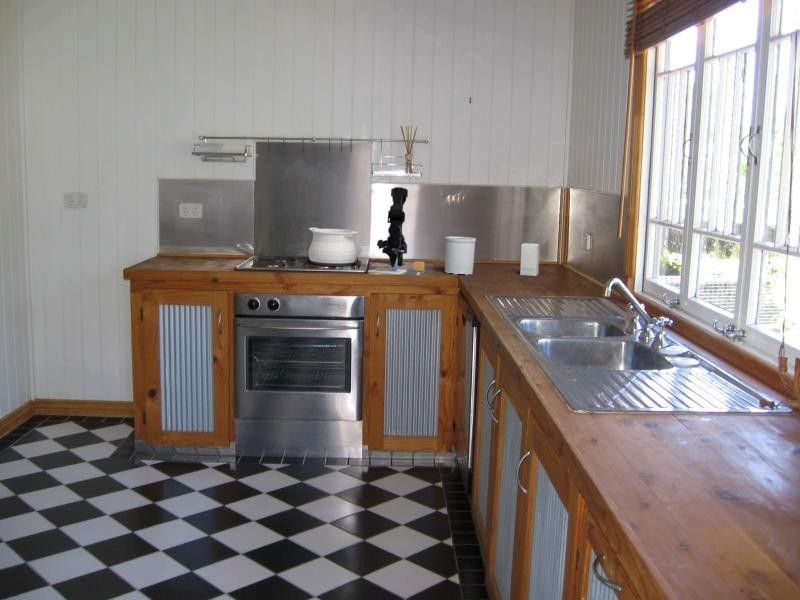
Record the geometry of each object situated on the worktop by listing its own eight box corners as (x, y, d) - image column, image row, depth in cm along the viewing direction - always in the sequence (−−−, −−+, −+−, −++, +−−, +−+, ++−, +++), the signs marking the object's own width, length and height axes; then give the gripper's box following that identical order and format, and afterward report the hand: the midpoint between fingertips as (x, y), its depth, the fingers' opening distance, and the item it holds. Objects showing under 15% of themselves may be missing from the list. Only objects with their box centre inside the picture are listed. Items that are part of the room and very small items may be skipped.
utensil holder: (448, 270, 446) (450, 235, 443) (477, 272, 441) (479, 237, 438) (439, 273, 432) (441, 237, 429) (469, 276, 427) (471, 240, 424)
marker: (391, 269, 432) (392, 252, 430) (398, 269, 431) (398, 253, 429) (389, 270, 429) (389, 253, 427) (396, 270, 428) (396, 254, 426)
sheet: (378, 268, 441) (378, 267, 441) (409, 271, 436) (409, 270, 436) (367, 271, 427) (367, 270, 427) (398, 274, 422) (398, 273, 422)
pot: (295, 263, 448) (296, 228, 445) (324, 259, 468) (325, 226, 466) (340, 269, 433) (342, 233, 430) (368, 264, 454) (369, 230, 451)
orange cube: (415, 269, 433) (415, 261, 432) (424, 270, 432) (424, 262, 431) (412, 270, 429) (413, 262, 429) (421, 271, 428) (421, 262, 427)
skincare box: (538, 274, 442) (540, 243, 439) (536, 276, 436) (538, 245, 433) (521, 273, 444) (523, 242, 442) (519, 275, 438) (521, 243, 436)
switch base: (415, 271, 435) (416, 265, 434) (425, 272, 433) (425, 266, 433) (406, 274, 422) (406, 268, 421) (416, 275, 420) (416, 269, 420)
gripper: (386, 232, 438) (385, 263, 441) (372, 234, 421) (371, 267, 423) (407, 233, 435) (406, 265, 437) (394, 236, 417) (393, 269, 420)
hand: (394, 266), depth 430 cm, fingers closed on marker, 3 cm apart
